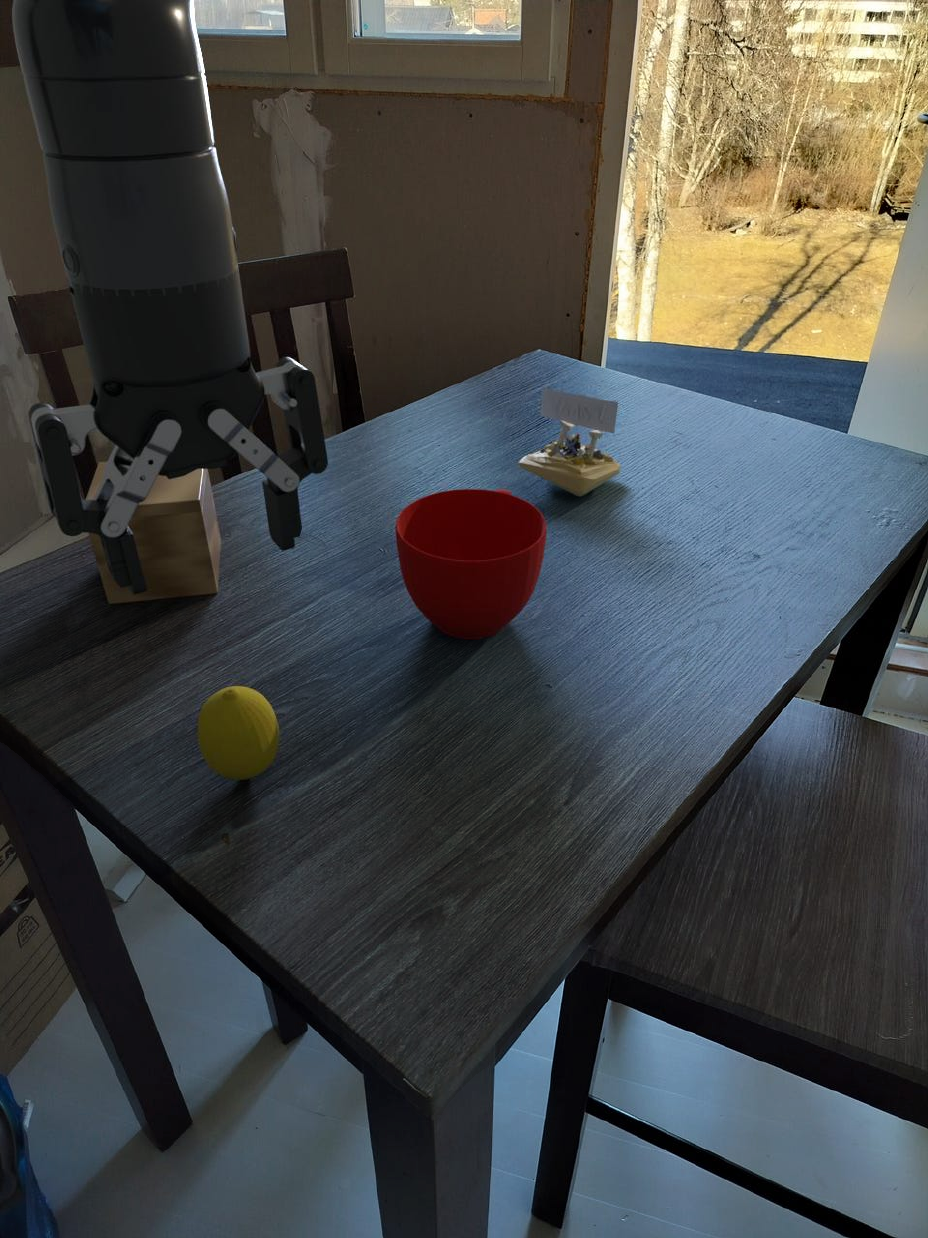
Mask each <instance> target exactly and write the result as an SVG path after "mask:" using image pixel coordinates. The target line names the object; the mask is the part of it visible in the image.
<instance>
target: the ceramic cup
mask: <svg viewBox="0 0 928 1238" xmlns="http://www.w3.org/2000/svg"><path fill="white" fill-rule="evenodd" d="M394 530H395V540H396V541H395V542H396V548H397V555H398V556H397V557H398V562H399V567H400V572H401V577H402V580H403V583H404V586H405V589H406V590H407V592H408V594H409V596H410V598H411V600H412V602H413V604H414V605H415V607H416V608H417V609H418V611H419V612H420V613H421V614H422V616H424V617H425V618H426V619H427V620H428V621H429V622H431V624H433V625H434V626H435V627H436V628H438V629H439V630H440V631H441V632H442V633H443V634H446V635H447V636H450V637H453V638H456V639H462V640H479V639H485V638H488V637H491V636H493V635H495V634H497V633H498V632H500V631H501V630H502V629H503V628H504V627H505V626H506V625H508V624H509V623H510V622H512V621H513V620H514V619H515V618H516V617H517V616H518V615H519V614H520V613H521V612H522V611H523V610H524V608H525V606H526V605H527V604H528V602H529V601H530V600H531V597H532V595H533V594H534V592H535V589H536V586H537V583H538V580H539V578H540V574H541V571H542V565H543V563H544V556H545V550H546V541H547V533H548V532H547V521H546V519H545V517H544V515H543V513H542V512H541V511H540V510H539V508H537V507H536V506H535V505H533V504H532V503H531V502H529V501H527V500H525V499H522V498H520V497H518V496H515V495H514V494H513V493H512V492H511V491H510V490H508V489H504V488H500V489H497V490H489V489H483V488H482V489H480V488H479V489H478V488H462V489H461V488H460V489H451V490H444V491H439V492H436V493H432V494H428V495H426V496H423V497H421V498H418V499H416V500H415V501H413V502H411V503H409V504H408V505H407V506H406V507H405V508H403V509H402V510H401V512H400V513H399V515H398V516H397V519H396V523H395V529H394Z"/></svg>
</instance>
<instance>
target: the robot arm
mask: <svg viewBox="0 0 928 1238" xmlns="http://www.w3.org/2000/svg"><path fill="white" fill-rule="evenodd" d="M11 15H12V16H11V18H12V20H11V21H12V30H13V36H14V42H15V48H16V52H17V58H18V62H19V64H20V69H21V73H22V76H23V83H24V86H25V90H26V95H27V98H28V103H29V107H30V110H31V114H32V119H33V122H34V126H35V130H36V134H37V139H38V143H39V146H40V150H41V151H42V152H43V153H42V158H43V164H44V170H45V175H46V185H47V193H48V201H49V210H50V214H51V218H52V223H53V228H54V233H55V235H56V239H57V243H58V248H59V251H60V255H61V260H62V264H63V268H64V272H65V275H66V279H67V284H68V287H69V292H70V295H71V299H72V303H73V308H74V311H75V316H76V319H77V323H78V327H79V332H80V335H81V339H82V343H83V346H84V351H85V354H86V359H87V362H88V366H89V370H90V374H91V379H92V395H91V398H90V400H89V404H81V405H74V406H67V407H59V408H53V407H52V405H50V404H48V403H46V402H38V403H35V404H33V405H32V406H31V407H30V408H29V409H28V413H27V415H28V416H27V417H28V420H29V425H30V429H31V433H32V437H33V442H34V445H35V450H36V454H37V459H38V463H39V467H40V471H41V476H42V480H43V484H44V489H45V493H46V497H47V503H48V506H49V509H50V512H51V514H52V515H53V517H54V518H55V519H56V521H57V525H58V527H59V530H60V531H61V532H62V533H63V535H65V536H68V537H76V536H80V535H82V534H83V533H88V534H89V533H95V534H97V535H99V537H100V540H101V544H102V548H103V551H104V555H105V558H106V562H107V566H108V569H109V571H110V573H111V575H112V576H113V578H114V580H115V581H116V583H117V584H118V585H119V586H120V587H121V588H123V587H127V586H129V588H130V590H131V592H132V593H133V595H136V594H139V593H142V592H146V591H147V588H146V584H145V580H144V576H143V572H142V568H141V564H140V560H139V556H138V552H137V548H136V544H135V540H134V536H133V533H132V532H131V530H130V529H129V527H128V524H129V522H130V520H131V518H132V516H133V514H134V512H135V510H136V508H137V506H138V504H139V503H140V502H143V501H144V500H145V499H146V498H147V496H148V494H149V492H150V490H151V488H152V486H153V484H154V482H155V480H156V478H157V476H158V475H161V476H166V477H167V478H168V479H173V478H177V477H182V476H185V475H187V474H189V473H191V472H193V471H195V470H196V469H208V470H215V469H219V468H224V467H228V462H229V461H230V460H232V459H233V458H234V457H235V456H236V455H237V454H239V455H241V457H242V458H243V459H245V460H246V461H247V462H248V463H250V465H252V466H253V467H254V468H256V469H257V470H258V471H259V472H260V473H262V474H263V475H264V476H265V477H266V479H265V480H261V483H262V490H263V498H264V504H265V511H266V518H267V526H268V531H269V535H270V538H271V540H272V542H273V543H274V544H275V545H276V546H277V547H278V548H279V549H280V551H282V552H285V551H288V550H291V549H294V548H295V547H296V542H295V541H296V540H295V539H296V538H299V537H301V533H302V530H303V523H302V515H301V509H300V508H301V507H300V499H299V486H300V484H301V482H302V481H303V480H304V479H305V478H307V477H309V476H310V475H311V474H314V475H318V474H322V473H324V472H325V471H326V470H327V468H328V465H329V460H328V459H329V458H328V453H327V447H326V440H325V433H324V427H323V421H322V415H321V408H320V402H319V395H318V388H317V384H316V383H317V382H316V377H315V375H314V373H313V372H312V371H310V370H309V369H308V368H306V367H305V366H303V365H302V364H300V363H299V362H297V361H296V360H295V359H293V358H291V357H290V356H284V357H282V358H280V359H279V360H278V361H277V362H276V365H275V367H274V368H273V367H272V368H269V369H265V370H261V371H257V372H256V371H255V369H254V366H253V364H252V357H251V348H250V340H249V335H248V334H249V333H248V327H247V320H246V313H245V306H244V299H243V298H244V297H243V291H242V284H241V278H240V270H239V263H238V250H239V246H238V245H239V244H238V238H237V233H236V231H235V229H234V227H233V221H232V214H231V208H230V202H229V198H228V193H227V190H226V186H225V182H224V179H223V176H222V173H221V167H220V164H219V159H218V154H217V148H216V147H214V145H215V144H216V142H215V136H214V134H215V133H214V128H213V121H212V114H211V108H210V101H209V100H210V99H209V92H208V87H207V80H206V75H205V67H204V61H203V56H202V51H201V45H200V41H199V37H198V32H197V26H196V17H195V2H194V0H13V2H12V9H11ZM266 395H268V396H270V399H271V401H272V402H273V403H274V404H275V405H277V406H278V407H279V408H280V409H282V412H283V417H284V422H285V428H286V433H287V438H288V442H289V443H288V444H289V449H288V450H286V451H285V452H284V453H282V454H279V456H278V455H276V454H275V453H274V452H273V451H272V449H270V448H269V447H268V446H267V445H266V444H264V442H262V440H260V439H259V438H258V437H257V436H256V435H255V434H254V433H253V432H251V431H250V429H251V427H252V424H253V422H254V421H255V419H256V417H257V415H258V413H259V411H260V409H261V407H262V405H263V403H264V401H265V396H266ZM94 430H98V431H99V432H100V433H101V435H103V436H104V437H105V438H106V439H108V440H109V441H110V442H111V443H112V444H114V448H113V449H112V451H111V453H110V455H109V457H108V459H107V461H106V462H107V463H106V466H105V474H104V478H103V480H102V482H101V484H100V486H99V488H98V490H97V492H96V494H95V496H94V498H93V500H86V499H83V498H82V497H81V492H80V487H79V483H78V478H77V473H76V468H75V464H74V459H73V457H74V456H78V455H79V454H81V453H82V452H83V451H84V450H85V447H86V439H87V436H88V434H89V433H90V432H91V431H94Z"/></svg>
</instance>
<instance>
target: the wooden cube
mask: <svg viewBox="0 0 928 1238" xmlns="http://www.w3.org/2000/svg"><path fill="white" fill-rule="evenodd" d="M106 463H107V461H98V464H97V466H96V469H95V471H94V474H93V478H92V480H91V483H90V486H89V489H88V491H87V495H86V498H85V500H93V498H94V496H95V494H96V492H97V490H98V488H99V486H100V484H101V482H102V480H103V478H104V474H105V466H106ZM128 527H129V529H130V530H131V532H132V533H133V536H134V540H135V544H136V548H137V552H138V556H139V560H140V564H141V568H142V572H143V576H144V580H145V584H146V588H147V591H146V592H142V593H139V594H136V595H133V593H132V592H131V590H130V588H129V586H127V587H123V588H121V587H120V586H119V585H118V584H117V583H116V581H115V580H114V578H113V576H112V575H111V573H110V571H109V569H108V566H107V562H106V558H105V555H104V551H103V548H102V544H101V540H100V537H99V535H97V534H95V533H88V536H89V540H90V544H91V547H92V551H93V553H94V558H95V562H96V564H97V568H98V572H99V574H100V578H101V582H102V585H103V588H104V589H103V590H104V592H105V595H106V600H107V603H108V605H113V604H124V603H134V602H145V601H153V600H154V601H155V600H162V599H163V600H165V599H173V598H184V597H192V596H193V597H194V596H202V595H213V594H218V593H219V581H220V579H219V578H220V567H221V565H220V564H221V549H222V539H221V534H220V527H219V522H218V517H217V512H216V507H215V501H214V495H213V490H212V485H211V479H210V474H209V469H196V470H195V471H193V472H191V473H189V474H187V475H185V476H182V477H177V478H173V479H168V478H167V477H166V476H161V475H158V476H157V478H156V480H155V482H154V484H153V486H152V488H151V490H150V492H149V494H148V496H147V498H146V499H145V500H144V501H143V502H140V503H139V504H138V506H137V508H136V510H135V512H134V514H133V516H132V518H131V520H130V522H129V524H128Z"/></svg>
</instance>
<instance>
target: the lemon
mask: <svg viewBox="0 0 928 1238" xmlns="http://www.w3.org/2000/svg"><path fill="white" fill-rule="evenodd" d="M197 742H198V747H199V750H200V752H201V755H202V757H203V759H204V761H205V762H206V764H207V765H208V766H209V768H211V769H212V770H213V772H215V773H216V774H218V775H220V776H222V777H223V778H226V779H230V780H234V781H235V780H236V781H243V780H250V779H252V778H255V777H257V776H259V775H261V774H262V773H263V772H265V771H266V770H267V769H268V768H269V767H270V766H271V764H272V763H273V762H274V760H275V758H276V755H277V754H278V750H279V746H280V726H279V722H278V720H277V717H276V713H275V711H274V708H273V706H272V705H271V703H270V702H269V701H268V699H267V698H265V696H264V695H263V694H262V693H260V692H259V691H257V690H255V689H253V688H250V687H247V686H241V685H233V686H232V685H231V686H228V687H224V688H222V689H220V690H218V691H216V692H214V693H213V694H212V695H211V696H209V698H208V699H206V701H205V702H204V703H203V705H202V707H201V710H200V712H199V716H198V719H197Z"/></svg>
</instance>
